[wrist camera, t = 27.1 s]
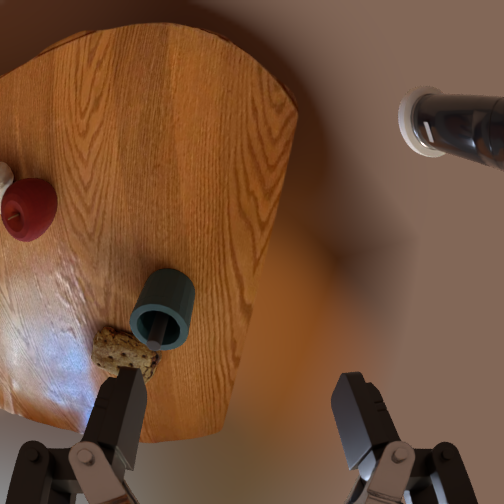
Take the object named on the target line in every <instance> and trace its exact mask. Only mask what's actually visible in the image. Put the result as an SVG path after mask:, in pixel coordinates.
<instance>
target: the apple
mask: <svg viewBox="0 0 504 504" xmlns="http://www.w3.org/2000/svg"><path fill="white" fill-rule="evenodd" d="M56 210H57V195H56V192H55V190H54V188H53V187H52V186H51V185H50V184H49V183H48V182H46V181H44V180H42V179H38V178H26V179H22V180H19V181H16V182H15V183H13V184H12V185H10V186H9V187H8V188H7V190H6V191H5V193H4V195H3V197H2V201H1V217H2V221H3V224H4V226H5V228H6V229H7V231H8V232H9V233H10V235H11V236H13V237H14V238H15V239H17V240H19V241H24V242H30V241H32V240H35V239H37V238H38V237H40V236H41V235H42V234H43V233H45V231H46V230H47V229H48V228H49V226H50V225H51V223H52V221H53V219H54V217H55V214H56Z"/></svg>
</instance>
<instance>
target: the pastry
mask: <svg viewBox="0 0 504 504" xmlns="http://www.w3.org/2000/svg"><path fill="white" fill-rule="evenodd" d="M161 357H162V354H161V351H160V350H158V351H152V350H150V349H149V348H148V347H147V345H145V344H143V343H142V342H140V341H139V340H138V339H137V338H136V337H135V336H134V335H131V334H127V333H124V332H121V331H120V332H119V333H117V332H116V331H115V330H114V329H113V328H112V327H110V326H109V327H106V326H105V327H103V329H102V331H101V332H99V331H98V332H97V334H96V336H95V338H94V343H93V351H92V356H91V359H92V361H93V362H94V363H95V365H97V366H98V367H99V368H100V369H103V370H105V371H107V372H110V373H111V374H114V375H117V376H118V373H119V370H120V368H121V366H126V367H133V368H140V369H141V372H142V376H143V380H144V383H145V384H146V383H147V382H148V381H149V380H150V378H152V376H153V374H154V372H155V369H156V367H157V365H158V363H159V362H160V360H161Z"/></svg>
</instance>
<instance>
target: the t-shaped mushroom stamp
mask: <svg viewBox="0 0 504 504" xmlns="http://www.w3.org/2000/svg"><path fill="white" fill-rule="evenodd" d="M168 319H169V314H167V313H164V312H161V311H157V313H156V316H155V319H154V322H153V325H152V328H151V331H150V334H149V337H148V340H147V343H146V345H147V347H148V348H149V349H150V350H152V351H158V350H160V348H161V345H162V341H163V337H164V333H165V330H166V326H167V322H168Z"/></svg>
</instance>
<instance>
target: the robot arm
mask: <svg viewBox="0 0 504 504" xmlns="http://www.w3.org/2000/svg"><path fill="white" fill-rule="evenodd" d="M410 120H411V127H412V130H413V133H414V135H415V137H416V139H417V140H418V141H419V143H420V144H421V145H423V146H424V147H426V148H428V149H431V150H437V151H441V152H444V153H448V154H452V155H455V156H458V157H462V158H465V159H468V160H471V161H475V162H478V163H481V164H484V165H487V166H490V167H493V168H496V169H499V170H501V171H504V97H498V96H483V95H463V94H462V95H460V94H424V95H421V96H420V97H418V98H417V99H416V101H415V102H414V104H413V106H412V109H411V116H410ZM146 405H147V391H146V387H145V383H144V380H143V376H142V372H141V369H140V368H133V367H126V366H121V368H120V370H119V373H118V376H117V378H113V377H109V378H108V379H107V380H106V381H105V382H104V383H103V384H102V385H101V387H100V390H99V392H98V395H97V398H96V401H95V403H94V407H93V409H92V412H91V415H90V418H89V421H88V424H87V427H86V430H85V433H84V436H83V438H82V440H81V441H80V442H79V443H76V444H75V445H74V446H73V447H71V448H65V449H51V448H46V447H45V446H44V445H43V444H42V443H40V442H38V441H28V442H26V443H25V444H23V445H22V447H21V448H20V450H19V454H18V457H17V460H16V463H15V467H14V471H13V474H12V478H11V482H10V486H9V490H8V494H7V499H6V504H75V501H76V495H77V493H84V495H85V497H86V499H87V501H88V503H89V504H140V503H139V502H138V500H137V499H136V498H135V496H134V494H133V493H132V491H131V490H130V488H129V486H128V485H127V483H126V481H125V480H124V473H125V469H127V470H132V471H133V470H134V464H135V459H136V453H137V448H138V443H139V438H140V433H141V428H142V423H143V418H144V414H145V409H146ZM331 407H332V411H333V414H334V417H335V421H336V424H337V428H338V431H339V435H340V438H341V442H342V445H343V449H344V452H345V456H346V459H347V463H348V466H349V470H355V469H359V472H360V475H359V476H358V478H357V480H356V482H355V484H354V486H353V488H352V490H351V491H350V493H349V495H348V497H347V499H346V501H345V503H344V504H403V503H402V502H401V499H402V496H403V494H404V498H405V502H406V504H478V502H477V499H476V496H475V493H474V490H473V488H472V485H471V482H470V479H469V477H468V474H467V472H466V469H465V466H464V464H463V461H462V459H461V456H460V454H459V451H458V449H457V448H456V447H455V446H454V445H453V444H451V443H449V442H441V443H439V444H438V445H436V446H435V447H434V448H433V449H414V448H412V447H411V446H410V445H409V444H407V443H406V442H402V441H401V440H400V438H399V436H398V433H397V431H396V429H395V426H394V424H393V422H392V419H391V417H390V414H389V412H388V411H387V407H386V405H385V403H384V402H383V398H382V396H381V394H380V392H379V390H378V389H377V388H376V387H375V386H374V385H373V384H372V383H371V382H370V383H366V382H365V380H364V378H363V375H362V374H361V373H360V372H350V373H342V374H341V376H340V378H339V380H338V382H337V385H336V387H335V390H334V391H333V394H332V397H331Z"/></svg>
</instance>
